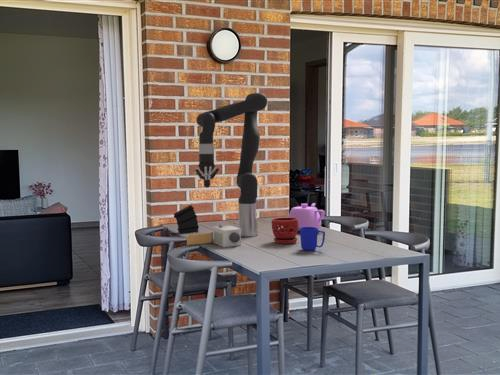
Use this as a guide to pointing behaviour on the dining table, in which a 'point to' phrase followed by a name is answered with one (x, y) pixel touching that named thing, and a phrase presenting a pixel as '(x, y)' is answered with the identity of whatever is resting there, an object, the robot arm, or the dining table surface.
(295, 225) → the plant pot
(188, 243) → the tan wooden plank
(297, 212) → the teapot
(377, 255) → the dining table surface
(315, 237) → the mug
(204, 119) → the robot arm
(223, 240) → the camera body
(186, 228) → the black ridged block
